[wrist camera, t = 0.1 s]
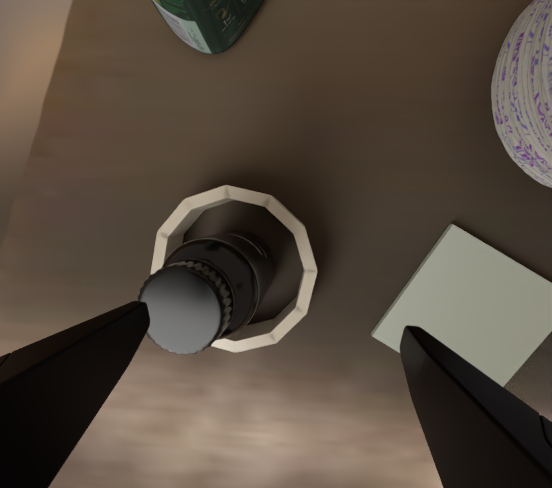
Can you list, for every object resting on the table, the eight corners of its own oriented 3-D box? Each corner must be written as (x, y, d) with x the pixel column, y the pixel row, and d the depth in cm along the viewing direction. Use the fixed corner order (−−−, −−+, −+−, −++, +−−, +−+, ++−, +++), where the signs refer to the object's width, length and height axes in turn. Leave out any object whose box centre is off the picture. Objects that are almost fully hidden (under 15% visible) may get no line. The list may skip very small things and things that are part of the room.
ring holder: (244, 361, 26) (237, 380, 23) (143, 266, 26) (122, 273, 23) (345, 263, 24) (351, 271, 21) (234, 158, 24) (224, 150, 21)
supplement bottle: (272, 227, 24) (242, 242, 12) (277, 298, 25) (253, 376, 13) (202, 231, 25) (109, 249, 13) (208, 299, 26) (127, 375, 14)
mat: (482, 402, 24) (486, 406, 23) (370, 333, 24) (371, 336, 24) (572, 297, 22) (579, 299, 22) (449, 223, 22) (453, 224, 22)
